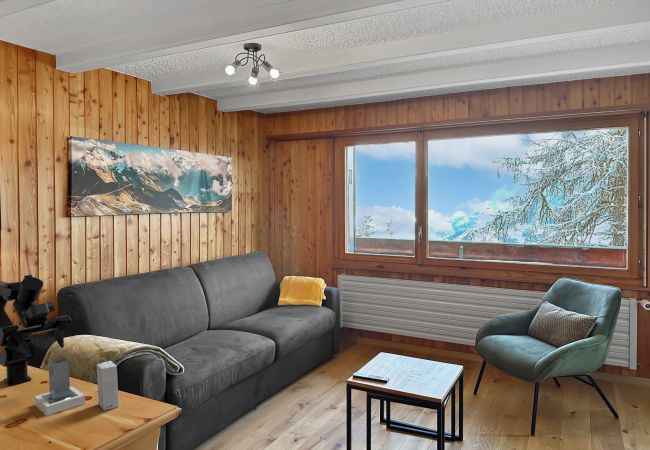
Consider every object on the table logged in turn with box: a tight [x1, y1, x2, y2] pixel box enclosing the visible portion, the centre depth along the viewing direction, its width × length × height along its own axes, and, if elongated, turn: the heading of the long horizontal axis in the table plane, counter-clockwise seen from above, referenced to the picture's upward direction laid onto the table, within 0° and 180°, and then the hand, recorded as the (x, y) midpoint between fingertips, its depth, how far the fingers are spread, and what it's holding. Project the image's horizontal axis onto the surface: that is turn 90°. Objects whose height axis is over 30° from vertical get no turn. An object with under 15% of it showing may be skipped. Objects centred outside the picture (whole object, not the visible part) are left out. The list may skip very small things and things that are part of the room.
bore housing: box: [34, 385, 86, 417], centre depth 133 cm, size 10×10×2 cm
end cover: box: [48, 356, 72, 404], centre depth 133 cm, size 6×6×13 cm
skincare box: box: [96, 360, 120, 411], centre depth 132 cm, size 6×4×12 cm
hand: (46, 351), depth 136 cm, fingers open, 9 cm apart
